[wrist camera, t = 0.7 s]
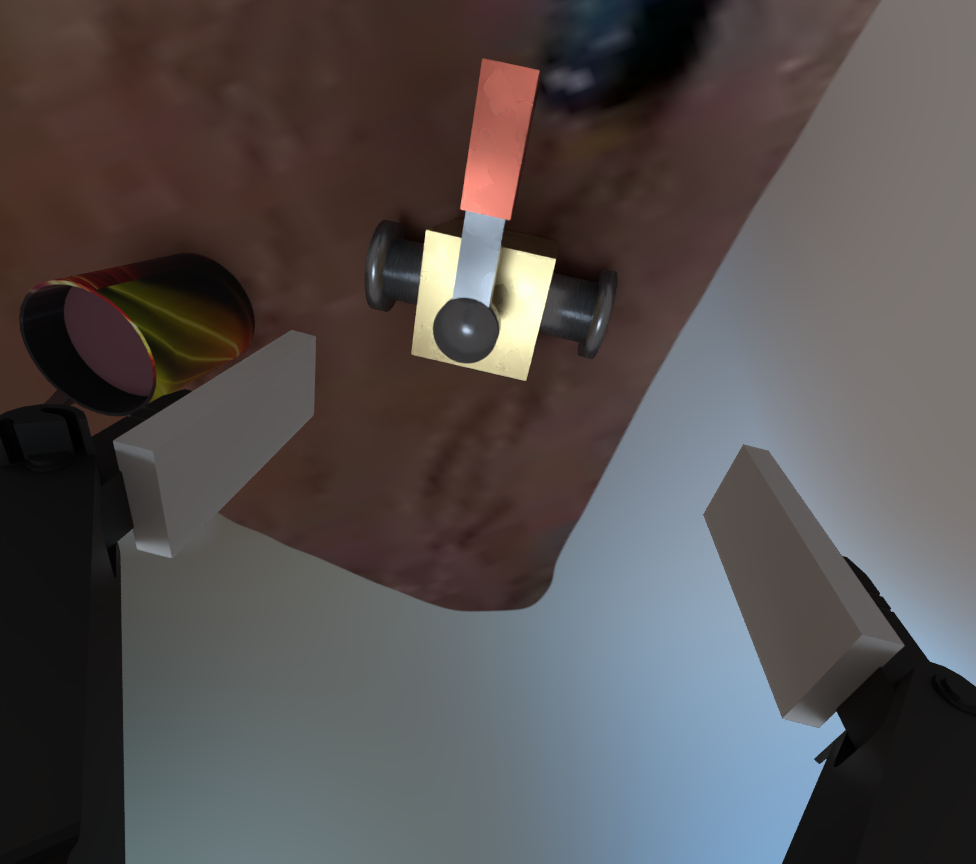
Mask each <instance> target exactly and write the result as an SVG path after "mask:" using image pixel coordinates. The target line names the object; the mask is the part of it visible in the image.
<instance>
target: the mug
mask: <svg viewBox="0 0 976 864" xmlns="http://www.w3.org/2000/svg"><path fill="white" fill-rule="evenodd" d="M19 322H20V331H21V334H22V338H23V341H24V344H25V346H26V348H27V350H28V353H29V355H30V357H31V358H32V360H33V361H34V363H35V365H36V366H37V368H38V369H39V370H40V372H41V373H42V374H43V375H44V376H45V378H46V379H47V380H48V381H49V382H50V383H51V384H52V385H53V386H54V387H55V388H56V389H57V391H56V392H55V393H54V394H53V395H52V397H51V398H50V399H49V400H48V401H46V402H45V404H62V405H67V406H70V405H72V404H74V403H77V404H79V405H80V406H82V407H84V408H86V409H89V410H91V411H94V412H96V413H100V414H104V415H108V416H126V415H131V414H132V413H133V412H135V411H137V410H138V409H140V408H144V407H145V405H147V404H149V403H150V402H152V401H154V400H156V399H157V398H159V397H161V396H163V395H166V394H170V393H173V392H175V391H177V390H179V389H180V388H182V387H184V386H186V385H188V384H189V383H191V382H193V381H195V380H196V379H198V378H200V377H202V376H204V375H205V374H207V373H209V372H211V371H213V370H214V369H216V368H218V367H220V366H222V365H223V364H225V363H227V362H229V361H230V360H232V359H234V358H236V357H238V356H239V355H240V354H242V353H243V352H244V351H245V350H246V349H247V347H248V346H249V345H250V343H251V340H252V338H253V334H254V328H255V323H254V314H253V309H252V305H251V303H250V301H249V298H248V296H247V294H246V292H245V291H244V289H243V287H242V286H241V284H240V283H239V282H238V281H237V280H236V278H235V277H234V276H233V275H232V274H231V273H230V272H229V271H228V270H226V269H225V268H224V267H223V266H221V265H220V264H218V263H217V262H215V261H214V260H211V259H209V258H207V257H204V256H201V255H197V254H192V253H182V254H177V255H172V256H167V257H162V258H158V259H153V260H148V261H143V262H138V263H133V264H129V265H124V266H119V267H114V268H109V269H104V270H100V271H95V272H90V273H85V274H80V275H75V276H70V277H66V278H61V279H56V280H51V281H47V282H43V283H40V284H38V285H37V286H35V287H33V288H32V289H31V290H30V291H29V292H28V293H27V294H26V295H25V297H24V299H23V302H22V304H21V307H20V315H19Z"/></svg>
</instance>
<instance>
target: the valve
mask: <svg viewBox="0 0 976 864" xmlns="http://www.w3.org/2000/svg"><path fill="white" fill-rule="evenodd" d="M463 226H464V220H461V219H457V218H455V219H452V220H450V221H447V222H445V223H442V224H440V225H437V226H435V227H432V228H430V229H427V230H426V234H425V243H424V244H423V243H419V242H415V241H410V240H406V236H405V231H404V228H403V226H402V225H401V224H400V223H397V222H392V221H388V220H383V221H381V222H380V223H379V224H378V226H377V228H376V229H375V231H374V234H373V236H372V239H371V242H370V246H369V250H368V254H367V260H366V267H365V293H366V299H367V302H368V304H369V306H370V307H371V308H372V309H376V310H381V311H385V312H388V311H389V310H391V308H392V307H393V306H394V304H395V302H396V300H397V301H402V302H406V303H410V304H415V305H417V311H416V319H415V328H414V336H413V345H412V353H411V354H412V355H416V356H421V357H425V358H429V359H434V360H438V361H442V362H446V363H451V364H455V365H459V366H464V367H468V368H472V369H477V370H481V371H485V372H489V373H494V374H498V375H502V376H507V377H511V378H515V379H520V380H524V381H526V379H527V375H528V371H529V367H530V363H531V359H532V355H533V351H534V347H535V343H536V339H537V335H538V333H541V334H546V335H550V336H554V337H559V338H563V339H567V340H572V341H576V342H579V344H578V356H581V357H585V358H590V359H593V358H594V357H595V355H596V354H597V352H598V350H599V347H600V345H601V342H602V340H603V337H604V334H605V331H606V328H607V325H608V322H609V318H610V315H611V311H612V307H613V303H614V298H615V293H616V287H617V272H616V271H611V270H607V269H601V270H600V272H599V273H598V276H597V278H596V280H595V282H592V281H588V280H583V279H579V278H575V277H570V276H566V275H561V274H557V273H553V270H554V266H555V262H556V256H557V245H558V241H555V240H551V239H546V238H542V237H537V236H533V235H528V234H524V233H519V232H515V231H511V230H505V235H504V240H503V245H502V251H501V256H500V261H499V266H498V271H497V277H496V282H495V287H494V292H493V297H492V302H491V303H492V304H493V305H494V306H495V307H496V309H497V311H498V313H499V316H500V320H501V330H500V334H499V337H498V340H497V342H496V345H495V347H494V349H493V350H492V352H491V353H490V354H489V355H488V356H487V357H486V358H484V359H483V360H481V361H478V362H475V363H469V364H466V363H459V362H456V361H453V360H451V359H450V358H448V357H447V356H445V355H444V354H443V353H442V352H441V351H440V349H439V348H438V346H437V344H436V342H435V340H434V336H433V323H434V319H435V317H436V315H437V313H438V312H439V310H440V309H441V308H442V307H443V306H444V305H445V304H446V302H447V301H448V300H450V299H451V298H452V297H453V291H454V285H455V278H456V272H457V265H458V259H459V252H460V245H461V239H462V232H463Z"/></svg>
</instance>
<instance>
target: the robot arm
mask: <svg viewBox="0 0 976 864" xmlns="http://www.w3.org/2000/svg"><path fill="white" fill-rule="evenodd" d="M315 351H316V336H313V335H309V334H305V333H301V332H297V331H293V330H291V331H289V332H288V333H286V334H284V335H283V336H281V337H279V338H278V339H276V340H275V341H273V342H271V343H270V344H268V345H267V346H265V347H263V348H262V349H260V350H258V351H257V352H255V353H254V354H252V355H250V356H249V357H247V358H246V359H244V360H242V361H241V362H239V363H237V364H236V365H234V366H233V367H231V368H229V369H228V370H226V371H225V372H223V373H221V374H220V375H218V376H217V377H215V378H213V379H212V380H210V381H208V382H207V383H205V384H204V385H202V386H200V387H199V388H197V389H196V390H194V391H190V390H186V389H184V390H180V391H177V392H173V393H170V394H166V395H163V396H161V397H159V398H157V399H156V400H154V401H152V402H150V403H149V404H147V405H145V407H144V408H140V409H138V410H137V411H135V412H133V413H132V414H131V415H130V417H128V416H126V417H125V418H123V419H121V420H120V421H118V422H116V423H114V424H113V425H111V426H109V427H108V428H106V429H104V430H102V431H101V432H99V433H97V434H96V435H94V436H92V437H91V434H90V430H89V426H88V422H87V418H86V416H85V414H84V412H83V411H81V410H79V409H78V408H76V407H73V406H67V405H62V404H39V405H32V406H25V407H21V408H18V409H14V410H11V411H7V412H5V413H3V414H1V415H0V864H125V812H124V753H123V752H124V751H123V693H122V692H123V688H122V629H121V565H120V550H119V546H118V542H117V541H119V540H120V539H121V538H122V537H123V536H124V535H126V534H127V533H128V532H129V531H130V530H131V529H133V533H134V537H135V542H136V546H137V549H138V550H142V551H146V552H150V553H153V554H157V555H161V556H165V557H169V558H173V557H174V556H175V555H176V554H177V553H178V552H179V551H180V550H181V549H182V548H183V547H184V546H185V545H186V544H187V543H188V542H189V541H190V539H192V538H193V537H194V536H195V535H196V533H198V531H200V530H201V529H202V528H203V527H204V525H206V523H207V522H208V521H209V520H210V519H211V518H212V517H213V516H214V515H215V514H216V513H217V512H218V511H219V510H220V509H221V508H222V507H223V506H224V505H225V504H226V503H227V502H228V501H229V500H230V499H231V498H232V497H233V496H234V495H235V494H236V493H237V492H238V491H239V490H240V489H241V488H242V487H243V486H244V485H245V484H246V483H247V482H248V481H249V480H250V479H251V478H252V477H253V476H254V475H255V474H256V473H257V472H258V471H259V470H260V469H261V468H262V467H263V466H264V465H265V464H266V463H267V462H268V461H269V460H270V459H271V458H272V457H273V456H274V455H275V454H276V453H277V452H278V451H279V450H280V449H281V448H282V447H283V446H284V445H285V444H286V443H287V442H288V441H289V440H290V439H291V438H292V437H293V435H294V434H295V433H296V432H297V431H298V430H299V429H300V428H301V427H302V426H303V425H304V424H305V423H306V422H307V421H308V420H309V419H310V418H311V417H312V416H313V415H314V388H315ZM703 515H704V518H705V520H706V523H707V526H708V528H709V531H710V533H711V536H712V538H713V541H714V543H715V546H716V549H717V551H718V554H719V556H720V559H721V562H722V564H723V566H724V569H725V572H726V574H727V577H728V580H729V582H730V585H731V587H732V590H733V592H734V595H735V598H736V600H737V603H738V605H739V608H740V610H741V613H742V616H743V618H744V621H745V623H746V626H747V629H748V631H749V634H750V636H751V639H752V641H753V644H754V646H755V649H756V652H757V654H758V657H759V659H760V662H761V665H762V667H763V670H764V672H765V675H766V677H767V680H768V683H769V685H770V688H771V690H772V693H773V695H774V698H775V701H776V703H777V706H778V708H779V711H780V713H781V716H782V718H783V719H786V720H790V721H794V722H798V723H802V724H805V725H809V726H813V727H817V728H819V727H820V726H822V725H823V724H824V723H825V721H827V720H828V719H829V718H830V717H831V716H832V715H833V714H834V713H835V712H836V711H837V713H838V715H839V717H840V719H841V721H842V723H843V725H844V727H845V729H846V730H845V731H844V732H843V733H842V734H841V735H840V736H839V737H838V738H836V739H835V740H834V741H833V742H832V743H831V744H830V745H829V746H828V747H827V748H826V749H824V750H823V751H822V752H821V753H820V754H819V755H818V756H817V757H816V758H815V759H814V760H815V761H817V762H818V763H819V764H820V763H822V762H823V761H824V760H825V759H827V760H826V762H825V765H824V767H823V769H822V771H821V774H820V776H819V778H818V781H817V783H816V785H815V788H814V790H813V792H812V795H811V797H810V799H809V802H808V804H807V806H806V809H805V811H804V813H803V816H802V818H801V820H800V823H799V825H798V828H797V830H796V832H795V834H794V837H793V839H792V841H791V844H790V847H789V849H788V851H787V853H786V856H785V858H784V860H783V863H782V864H976V687H975V686H974V685H973V684H971V683H970V682H969V681H967V680H966V679H965V678H964V677H962V676H961V675H959V674H957V673H955V672H954V671H952V670H950V669H948V668H946V667H944V666H941V665H938V664H935V663H932V662H930V661H929V660H928V659H927V657H926V656H925V655H924V653H923V652H922V650H921V649H920V648H919V646H918V645H917V643H916V642H915V641H914V639H913V638H912V637H911V635H910V634H909V633H908V631H907V630H906V628H905V627H904V626H903V624H902V623H901V621H900V620H899V619H898V617H897V616H896V615H895V613H894V612H891V611H890V609H891V608H890V606H889V605H888V604H887V603H886V601H885V599H884V598H883V597H881V596H879V595H880V593H879V591H878V590H877V588H876V587H875V586H874V584H873V583H872V581H871V580H870V579H869V577H868V576H867V575H866V574H865V573H864V572H863V571H862V570H861V569H860V568H858V567H857V566H856V565H855V564H854V563H853V562H852V561H851V560H850V559H848V558H847V557H844V556H842V555H841V554H840V552H839V551H838V549H837V548H836V547H835V545H834V544H833V542H832V541H831V539H830V538H829V537H828V535H827V534H826V532H825V531H824V529H823V528H822V527H821V525H820V524H819V522H818V521H817V519H816V518H815V516H814V515H813V514H812V512H811V511H810V509H809V508H808V507H807V505H806V504H805V502H804V501H803V499H802V498H801V496H800V495H799V494H798V492H797V491H796V489H795V488H794V487H793V485H792V484H791V482H790V481H789V479H788V478H787V476H786V475H785V474H784V472H783V471H782V469H781V468H780V466H779V465H778V464H777V462H776V461H775V459H774V458H773V456H772V455H771V454H770V452H769V451H767V450H763V449H759V448H755V447H751V446H748V445H744V444H743V446H742V448H741V449H740V451H739V453H738V455H737V456H736V458H735V460H734V462H733V463H732V465H731V467H730V469H729V471H728V472H727V474H726V476H725V478H724V479H723V481H722V483H721V485H720V486H719V488H718V490H717V491H716V493H715V495H714V497H713V498H712V500H711V502H710V504H709V505H708V507H707V509H706V511H705V513H704V514H703Z"/></svg>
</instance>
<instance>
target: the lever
mask: <svg viewBox="0 0 976 864" xmlns="http://www.w3.org/2000/svg"><path fill="white" fill-rule="evenodd" d="M540 80H541V75H540V70H536V69H531V68H526V67H522V66H517V65H512V64H508V63H503V62H498V61H494V60H489V59H484V58H482V65H481V72H480V78H479V85H478V92H477V99H476V106H475V112H474V119H473V126H472V133H471V139H470V146H469V153H468V160H467V167H466V173H465V180H464V187H463V194H462V200H461V207H460V209H461V210H466V213H465V219H464V226H463V232H462V239H461V245H460V252H459V259H458V265H457V272H456V278H455V285H454V291H453V297H452V298H451V299H450V300H448V301H447V302H446V304H445V305H444V306H443V307H442V308H441V309H440V310H439V312H438V313H437V315H436V317H435V319H434V323H433V336H434V340H435V342H436V344H437V346H438V348H439V349H440V351H441V352H442V353H443V354H444V355H445V356H447V357H448V358H450V359H451V360H453V361H456V362H459V363H466V364H469V363H475V362H478V361H481V360H483V359H484V358H486V357H487V356H488V355H489V354H490V353H491V352H492V350H493V349H494V347H495V345H496V342H497V340H498V337H499V334H500V330H501V320H500V316H499V313H498V311H497V309H496V307H495V306H494V305H493V304H492V303H491V302H492V297H493V292H494V287H495V282H496V277H497V271H498V266H499V261H500V256H501V251H502V245H503V240H504V235H505V230H506V225H507V220H511V219H512V218H513V216H514V211H515V206H516V201H517V196H518V191H519V186H520V181H521V176H522V170H523V165H524V160H525V155H526V150H527V145H528V140H529V135H530V130H531V125H532V120H533V115H534V110H535V105H536V100H537V95H538V90H539V85H540Z"/></svg>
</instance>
